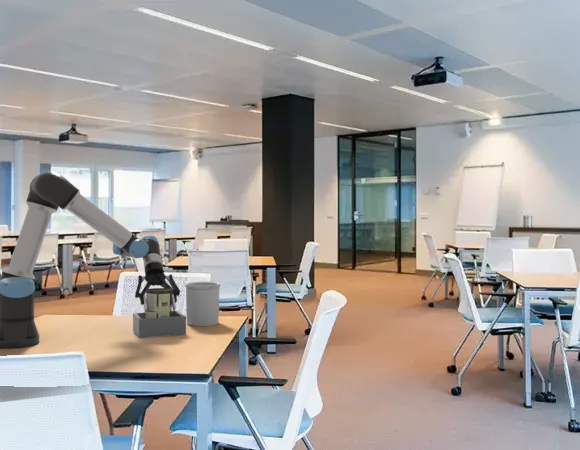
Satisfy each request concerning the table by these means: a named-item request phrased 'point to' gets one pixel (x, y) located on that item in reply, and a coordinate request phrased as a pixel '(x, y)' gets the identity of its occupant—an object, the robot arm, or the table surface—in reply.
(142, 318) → the bin
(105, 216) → the robot arm
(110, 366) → the table surface
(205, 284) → the utensil holder
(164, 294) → the coffee can
